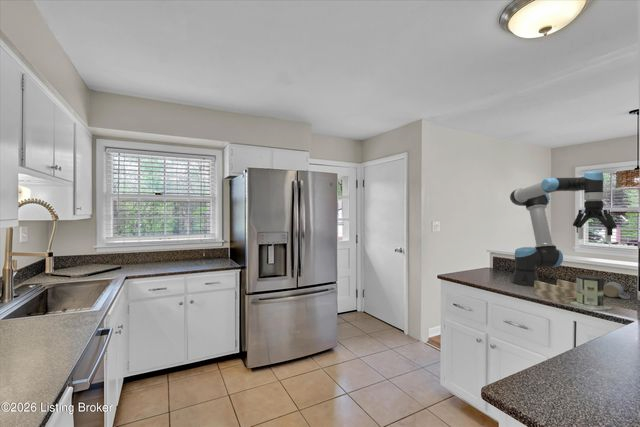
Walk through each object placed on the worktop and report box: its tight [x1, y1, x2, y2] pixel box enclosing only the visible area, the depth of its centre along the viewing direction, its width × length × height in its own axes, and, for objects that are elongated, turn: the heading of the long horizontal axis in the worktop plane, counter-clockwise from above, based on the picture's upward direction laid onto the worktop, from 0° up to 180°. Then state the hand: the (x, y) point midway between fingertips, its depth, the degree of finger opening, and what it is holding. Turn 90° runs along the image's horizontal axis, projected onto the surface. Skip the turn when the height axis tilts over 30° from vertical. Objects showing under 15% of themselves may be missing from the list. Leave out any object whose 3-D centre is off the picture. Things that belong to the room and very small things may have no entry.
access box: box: [533, 278, 577, 305], centre depth 164 cm, size 17×16×8 cm
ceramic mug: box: [603, 281, 631, 300], centre depth 164 cm, size 11×8×8 cm
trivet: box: [569, 302, 613, 311], centre depth 150 cm, size 11×11×1 cm
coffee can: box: [575, 273, 605, 308], centre depth 150 cm, size 10×10×14 cm
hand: (593, 240), depth 160 cm, fingers open, 13 cm apart
